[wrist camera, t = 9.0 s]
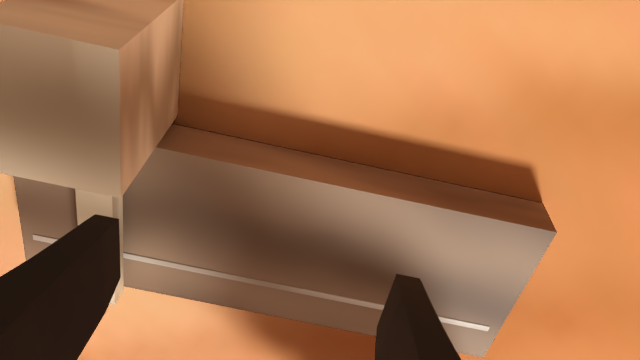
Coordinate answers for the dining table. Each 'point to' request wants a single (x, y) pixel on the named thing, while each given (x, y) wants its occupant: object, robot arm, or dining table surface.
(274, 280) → the plank
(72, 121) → the wooden mallet
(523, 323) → the dining table surface
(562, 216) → the dining table surface
